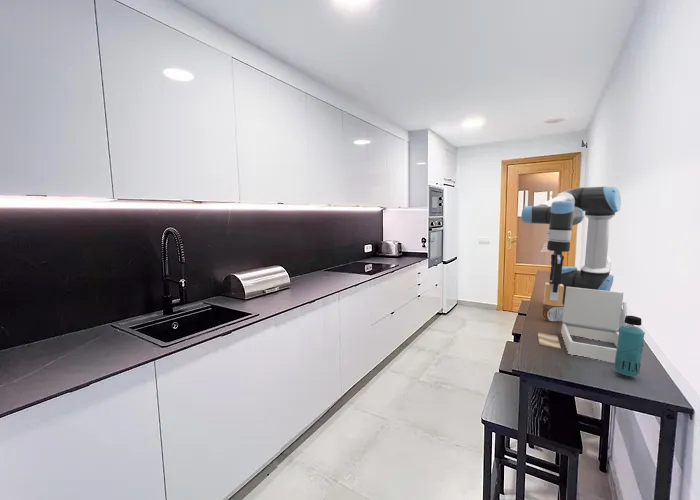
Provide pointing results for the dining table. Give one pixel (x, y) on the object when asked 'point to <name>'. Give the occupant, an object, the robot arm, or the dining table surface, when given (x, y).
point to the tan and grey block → (547, 295)
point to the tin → (553, 313)
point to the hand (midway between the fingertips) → (553, 298)
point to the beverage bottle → (629, 347)
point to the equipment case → (592, 321)
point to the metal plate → (548, 340)
